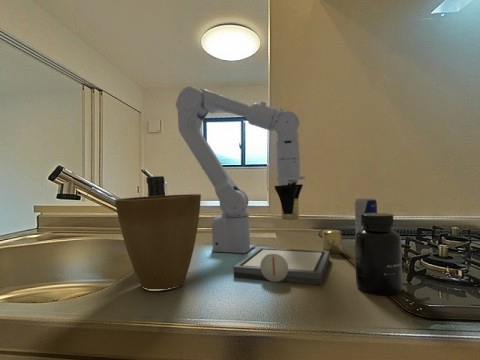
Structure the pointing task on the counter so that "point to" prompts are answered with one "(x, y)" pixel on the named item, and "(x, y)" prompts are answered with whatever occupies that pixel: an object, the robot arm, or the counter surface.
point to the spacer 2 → (332, 241)
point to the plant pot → (160, 236)
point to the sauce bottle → (155, 186)
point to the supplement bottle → (378, 255)
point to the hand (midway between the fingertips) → (290, 212)
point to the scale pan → (290, 259)
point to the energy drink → (363, 210)
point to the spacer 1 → (295, 211)
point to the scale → (281, 268)
